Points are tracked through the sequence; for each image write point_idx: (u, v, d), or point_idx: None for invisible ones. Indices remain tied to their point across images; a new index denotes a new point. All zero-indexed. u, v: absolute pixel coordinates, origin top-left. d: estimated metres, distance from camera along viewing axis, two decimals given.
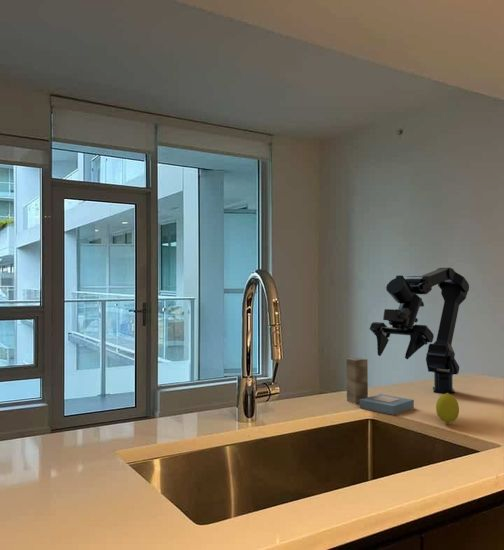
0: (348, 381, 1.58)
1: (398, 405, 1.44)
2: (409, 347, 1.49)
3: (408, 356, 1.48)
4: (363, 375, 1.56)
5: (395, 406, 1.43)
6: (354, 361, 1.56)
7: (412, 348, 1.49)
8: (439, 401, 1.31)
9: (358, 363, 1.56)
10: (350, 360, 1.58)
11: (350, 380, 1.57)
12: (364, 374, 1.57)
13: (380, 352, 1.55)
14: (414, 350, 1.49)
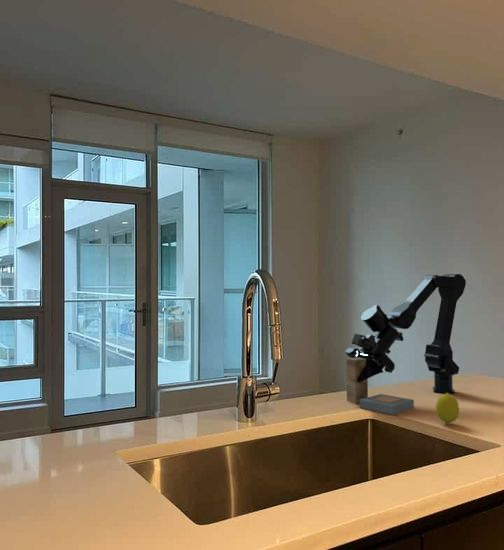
0: (348, 381, 1.58)
1: (398, 405, 1.44)
2: (362, 371, 1.55)
3: (360, 379, 1.55)
4: None
5: (395, 406, 1.43)
6: (354, 361, 1.56)
7: (365, 373, 1.55)
8: (440, 401, 1.31)
9: (358, 363, 1.56)
10: (350, 360, 1.57)
11: (350, 380, 1.57)
12: None
13: None
14: (368, 375, 1.56)
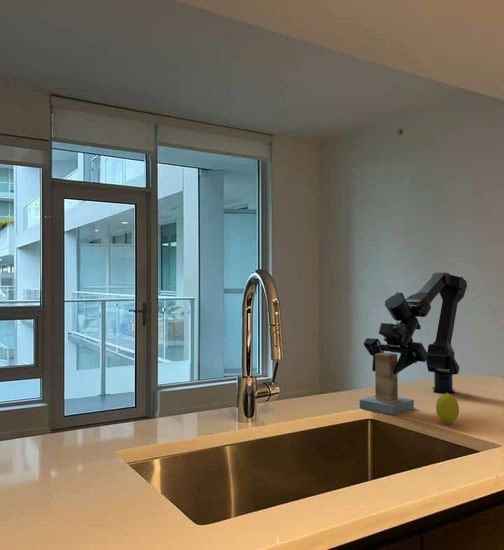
0: (378, 378, 1.49)
1: (398, 405, 1.44)
2: (398, 362, 1.47)
3: (396, 371, 1.46)
4: None
5: (395, 406, 1.43)
6: (387, 356, 1.47)
7: (401, 364, 1.47)
8: (439, 401, 1.31)
9: (390, 359, 1.47)
10: (381, 356, 1.48)
11: (381, 377, 1.48)
12: None
13: None
14: (403, 366, 1.47)
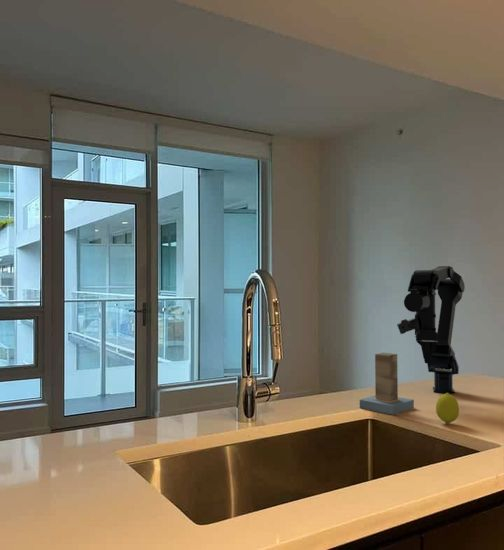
0: (378, 378, 1.49)
1: (398, 405, 1.44)
2: None
3: (427, 360, 1.55)
4: (394, 370, 1.48)
5: (395, 406, 1.43)
6: (387, 356, 1.47)
7: (425, 352, 1.54)
8: (440, 401, 1.31)
9: (390, 359, 1.47)
10: (381, 356, 1.48)
11: (381, 377, 1.48)
12: (395, 370, 1.49)
13: None
14: (430, 352, 1.54)
